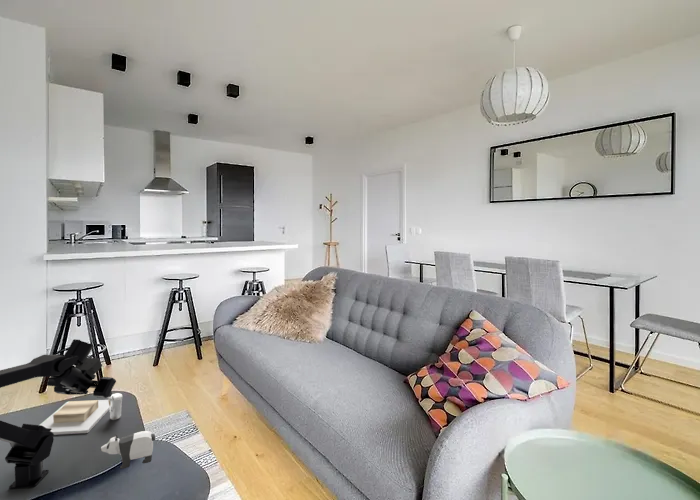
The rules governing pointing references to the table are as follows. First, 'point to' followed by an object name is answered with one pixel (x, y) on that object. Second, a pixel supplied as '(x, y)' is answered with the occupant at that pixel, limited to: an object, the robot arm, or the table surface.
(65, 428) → the baseplate
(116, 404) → the milkshake
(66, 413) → the plinth
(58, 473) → the table surface
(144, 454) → the giant panda
